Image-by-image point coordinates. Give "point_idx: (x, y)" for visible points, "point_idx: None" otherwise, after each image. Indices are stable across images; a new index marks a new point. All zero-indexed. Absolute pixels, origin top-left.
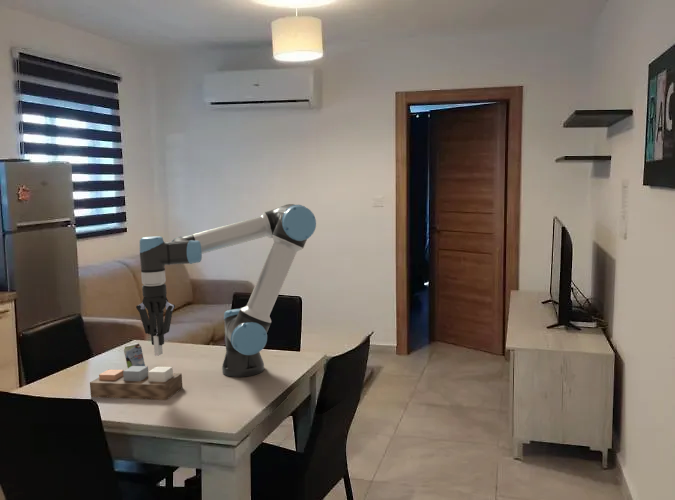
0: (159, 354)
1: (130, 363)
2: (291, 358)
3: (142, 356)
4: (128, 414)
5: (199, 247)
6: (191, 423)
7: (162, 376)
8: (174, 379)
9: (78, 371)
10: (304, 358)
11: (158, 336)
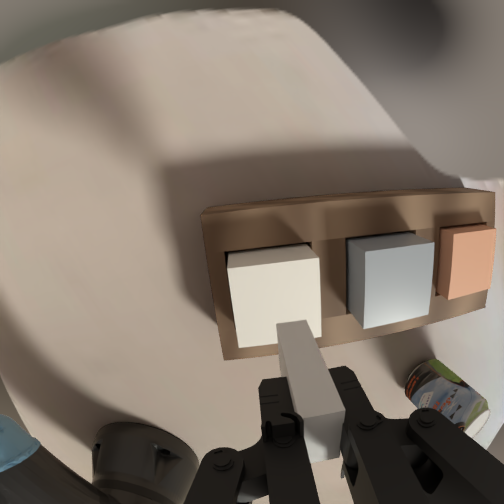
0: (277, 335)
1: (451, 379)
2: None
3: None
4: (258, 58)
5: None
6: (36, 73)
7: (238, 260)
8: (213, 300)
9: None
10: None
11: (277, 411)
